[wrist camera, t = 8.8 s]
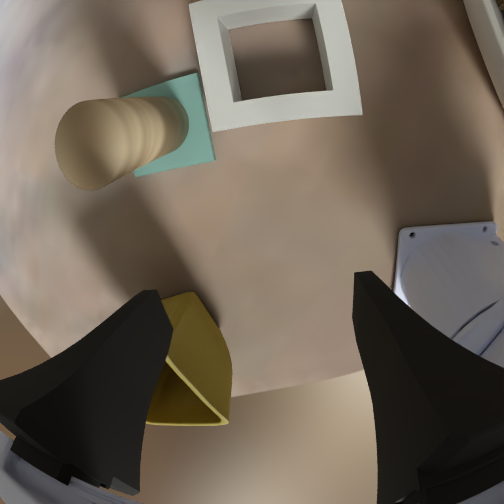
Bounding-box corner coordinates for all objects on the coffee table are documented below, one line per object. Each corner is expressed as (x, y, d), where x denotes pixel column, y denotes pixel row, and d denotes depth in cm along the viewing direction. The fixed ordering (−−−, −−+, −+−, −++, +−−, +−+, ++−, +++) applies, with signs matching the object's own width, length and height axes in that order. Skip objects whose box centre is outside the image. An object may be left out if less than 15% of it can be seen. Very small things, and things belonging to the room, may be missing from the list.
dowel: (184, 90, 16) (114, 87, 9) (193, 148, 18) (132, 181, 11) (130, 105, 16) (48, 117, 9) (141, 159, 18) (66, 197, 11)
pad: (198, 73, 15) (196, 72, 15) (215, 159, 18) (214, 160, 18) (120, 98, 17) (117, 99, 16) (138, 175, 19) (135, 177, 19)
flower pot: (124, 290, 25) (75, 359, 17) (200, 263, 22) (157, 348, 14) (174, 354, 28) (145, 424, 21) (248, 340, 26) (231, 425, 18)
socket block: (329, -1, 12) (336, -18, 9) (351, 113, 15) (362, 115, 13) (203, 17, 13) (188, 4, 11) (224, 127, 17) (212, 132, 14)
